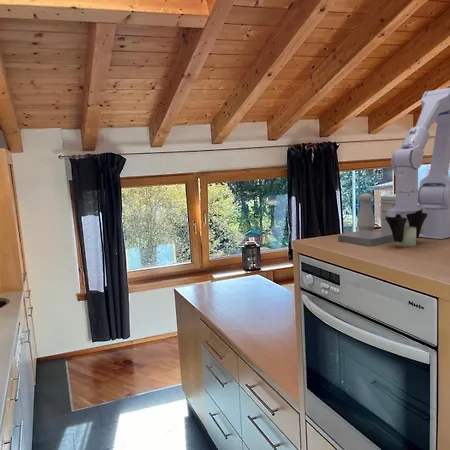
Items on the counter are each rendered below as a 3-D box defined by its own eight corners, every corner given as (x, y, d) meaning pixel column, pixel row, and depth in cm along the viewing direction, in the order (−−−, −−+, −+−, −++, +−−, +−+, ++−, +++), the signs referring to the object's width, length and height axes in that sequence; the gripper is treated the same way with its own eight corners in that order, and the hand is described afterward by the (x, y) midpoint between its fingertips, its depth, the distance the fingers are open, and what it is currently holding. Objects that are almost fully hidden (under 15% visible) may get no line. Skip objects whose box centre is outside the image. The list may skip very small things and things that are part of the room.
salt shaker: (353, 231, 149) (352, 194, 147) (366, 229, 151) (365, 192, 149) (365, 233, 144) (364, 194, 142) (378, 231, 146) (378, 193, 144)
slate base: (364, 236, 140) (364, 229, 139) (396, 240, 130) (396, 233, 129) (338, 241, 133) (338, 234, 133) (370, 246, 123) (370, 239, 123)
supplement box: (393, 231, 146) (393, 193, 144) (414, 233, 140) (414, 194, 138) (380, 234, 142) (379, 195, 140) (400, 236, 136) (400, 196, 134)
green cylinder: (404, 242, 126) (404, 225, 125) (419, 244, 122) (420, 227, 121) (393, 245, 123) (393, 227, 122) (409, 247, 119) (409, 229, 118)
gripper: (409, 189, 128) (409, 234, 129) (377, 193, 120) (378, 241, 122) (432, 189, 122) (431, 237, 124) (400, 194, 114) (400, 244, 116)
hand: (406, 239), depth 122 cm, fingers open, 7 cm apart
